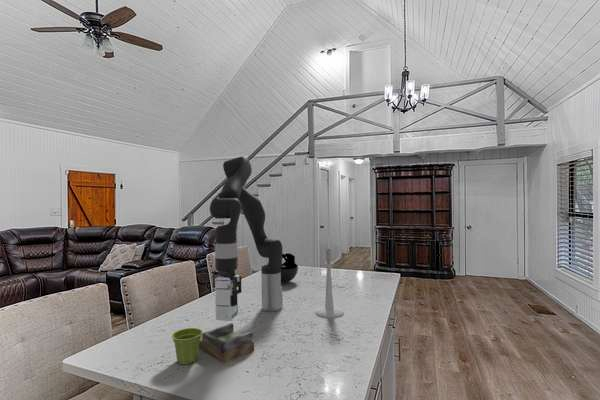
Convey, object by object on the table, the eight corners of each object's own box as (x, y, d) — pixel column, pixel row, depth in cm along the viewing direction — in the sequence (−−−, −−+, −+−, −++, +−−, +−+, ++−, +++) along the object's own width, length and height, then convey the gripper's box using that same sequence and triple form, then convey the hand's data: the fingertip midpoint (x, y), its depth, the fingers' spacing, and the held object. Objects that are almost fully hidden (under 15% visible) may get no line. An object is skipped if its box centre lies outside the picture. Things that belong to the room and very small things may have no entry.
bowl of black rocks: (297, 286, 190) (297, 255, 190) (264, 287, 190) (264, 255, 190) (298, 278, 210) (298, 250, 210) (268, 279, 210) (268, 250, 210)
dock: (221, 334, 122) (221, 318, 122) (254, 350, 108) (253, 332, 109) (192, 344, 113) (192, 328, 113) (224, 363, 100) (223, 344, 100)
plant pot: (176, 354, 107) (176, 328, 107) (205, 352, 107) (205, 327, 107) (167, 368, 97) (167, 340, 97) (198, 366, 98) (198, 338, 98)
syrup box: (231, 321, 106) (230, 277, 106) (214, 320, 107) (214, 277, 107) (238, 315, 111) (237, 274, 111) (222, 314, 112) (222, 273, 113)
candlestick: (347, 310, 147) (346, 246, 148) (338, 319, 136) (337, 250, 136) (321, 307, 153) (320, 244, 153) (311, 315, 141) (310, 248, 141)
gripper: (247, 256, 107) (248, 305, 107) (224, 252, 117) (224, 296, 117) (229, 259, 102) (229, 310, 101) (205, 255, 111) (206, 301, 111)
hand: (226, 303), depth 109 cm, fingers closed on syrup box, 7 cm apart
